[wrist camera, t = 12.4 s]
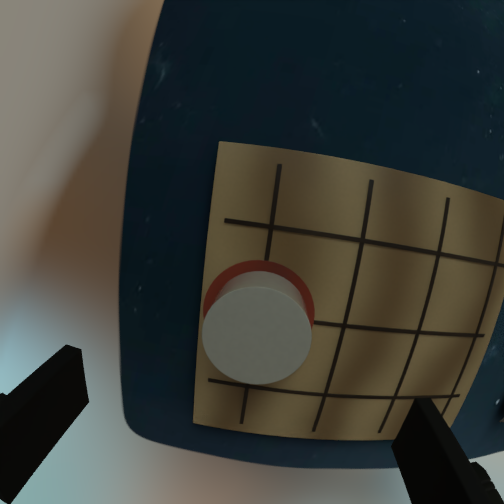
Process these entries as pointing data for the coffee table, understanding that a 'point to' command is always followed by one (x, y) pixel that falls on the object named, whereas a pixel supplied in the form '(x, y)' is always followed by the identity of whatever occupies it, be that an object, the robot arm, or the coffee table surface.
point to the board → (353, 290)
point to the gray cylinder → (257, 328)
